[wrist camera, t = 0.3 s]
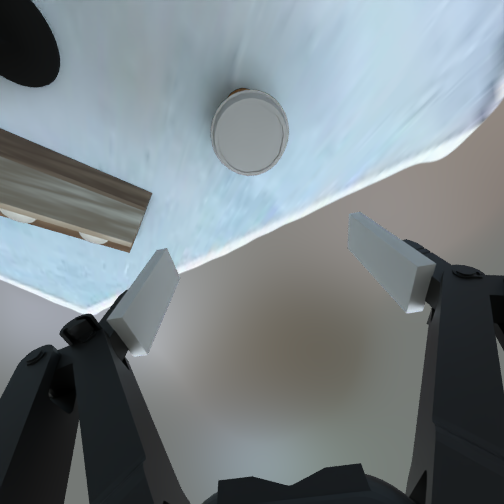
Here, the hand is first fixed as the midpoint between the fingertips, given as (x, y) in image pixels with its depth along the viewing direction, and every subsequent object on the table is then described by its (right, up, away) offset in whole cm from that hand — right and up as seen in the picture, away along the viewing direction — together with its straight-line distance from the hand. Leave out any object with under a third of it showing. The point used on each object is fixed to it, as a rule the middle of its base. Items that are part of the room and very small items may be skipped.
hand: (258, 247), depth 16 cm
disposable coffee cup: (-2, +22, +18) cm, 28 cm away
